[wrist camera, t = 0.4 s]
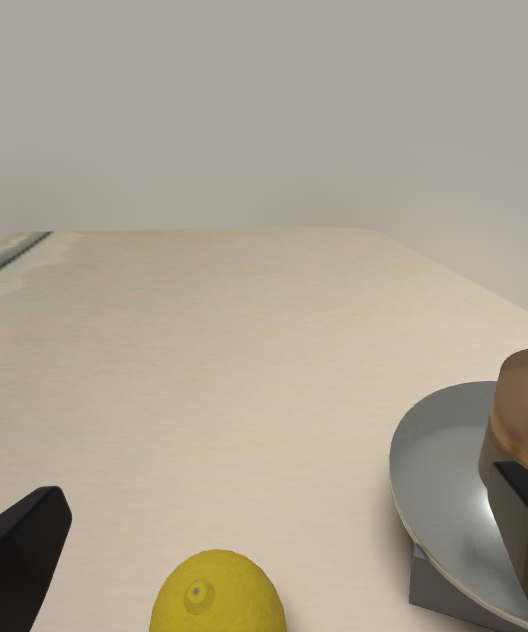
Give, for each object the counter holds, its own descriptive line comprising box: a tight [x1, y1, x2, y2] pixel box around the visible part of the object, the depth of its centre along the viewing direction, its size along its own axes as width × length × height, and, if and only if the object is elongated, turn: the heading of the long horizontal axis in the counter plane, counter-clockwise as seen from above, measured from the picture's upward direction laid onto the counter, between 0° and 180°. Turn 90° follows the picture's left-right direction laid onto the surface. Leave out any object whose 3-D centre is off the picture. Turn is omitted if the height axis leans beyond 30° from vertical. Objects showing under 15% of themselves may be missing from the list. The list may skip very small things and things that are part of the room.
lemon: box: [149, 549, 287, 632], centre depth 17 cm, size 6×6×8 cm
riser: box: [409, 541, 528, 632], centre depth 21 cm, size 9×9×5 cm
